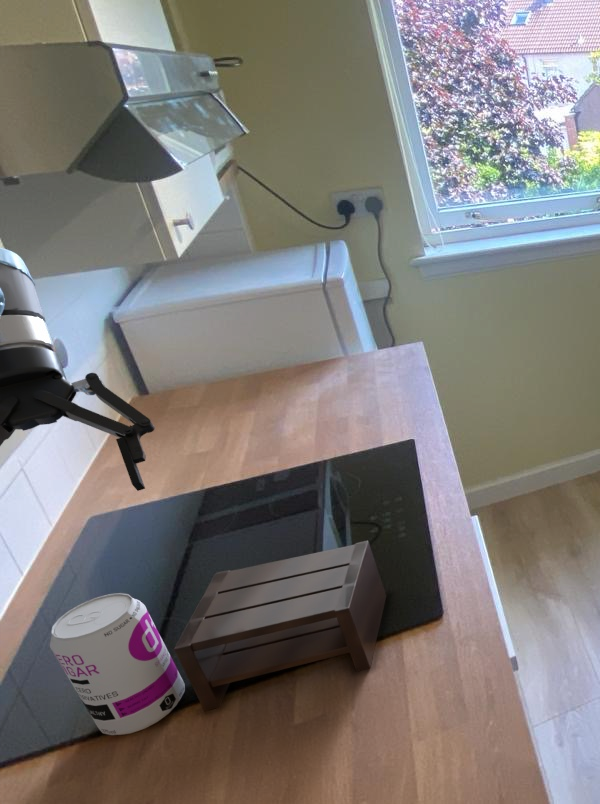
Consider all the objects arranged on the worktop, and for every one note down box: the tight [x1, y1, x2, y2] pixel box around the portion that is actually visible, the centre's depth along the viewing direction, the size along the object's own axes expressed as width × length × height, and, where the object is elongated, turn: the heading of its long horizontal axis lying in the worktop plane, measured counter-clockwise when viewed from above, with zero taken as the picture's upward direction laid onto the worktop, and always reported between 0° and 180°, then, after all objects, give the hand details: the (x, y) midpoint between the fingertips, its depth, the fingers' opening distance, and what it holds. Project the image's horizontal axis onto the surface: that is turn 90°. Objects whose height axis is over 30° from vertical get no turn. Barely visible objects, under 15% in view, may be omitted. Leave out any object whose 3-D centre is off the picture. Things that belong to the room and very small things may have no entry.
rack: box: [173, 540, 387, 712], centre depth 95 cm, size 18×14×10 cm
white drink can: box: [49, 592, 186, 736], centre depth 86 cm, size 8×8×15 cm
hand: (66, 509), depth 88 cm, fingers open, 13 cm apart
